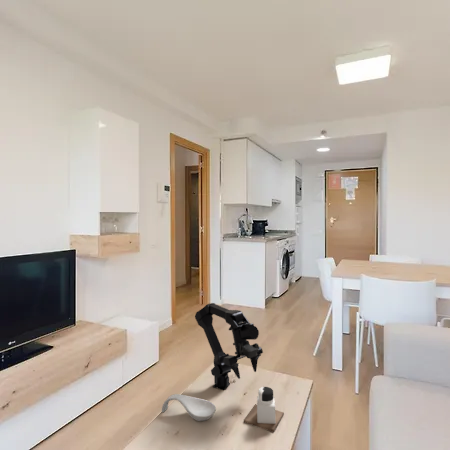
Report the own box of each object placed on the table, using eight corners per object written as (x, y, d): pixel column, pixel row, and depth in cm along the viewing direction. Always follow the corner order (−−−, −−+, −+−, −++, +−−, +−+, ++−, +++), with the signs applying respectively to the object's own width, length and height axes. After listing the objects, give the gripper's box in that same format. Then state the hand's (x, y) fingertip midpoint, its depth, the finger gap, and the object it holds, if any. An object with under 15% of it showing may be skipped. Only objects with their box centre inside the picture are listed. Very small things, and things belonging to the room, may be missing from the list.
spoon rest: (219, 410, 138) (219, 394, 137) (210, 428, 126) (210, 410, 126) (169, 402, 144) (168, 387, 144) (157, 418, 133) (156, 402, 133)
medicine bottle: (274, 413, 133) (274, 384, 133) (275, 424, 126) (275, 394, 126) (257, 412, 134) (256, 384, 133) (257, 423, 127) (256, 393, 126)
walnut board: (243, 422, 129) (243, 419, 129) (255, 406, 140) (255, 404, 140) (274, 432, 123) (274, 429, 123) (283, 414, 133) (283, 412, 133)
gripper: (233, 346, 134) (240, 385, 131) (266, 334, 144) (274, 370, 142) (219, 344, 143) (226, 381, 140) (251, 334, 153) (259, 367, 151)
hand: (247, 375), depth 143 cm, fingers open, 9 cm apart
